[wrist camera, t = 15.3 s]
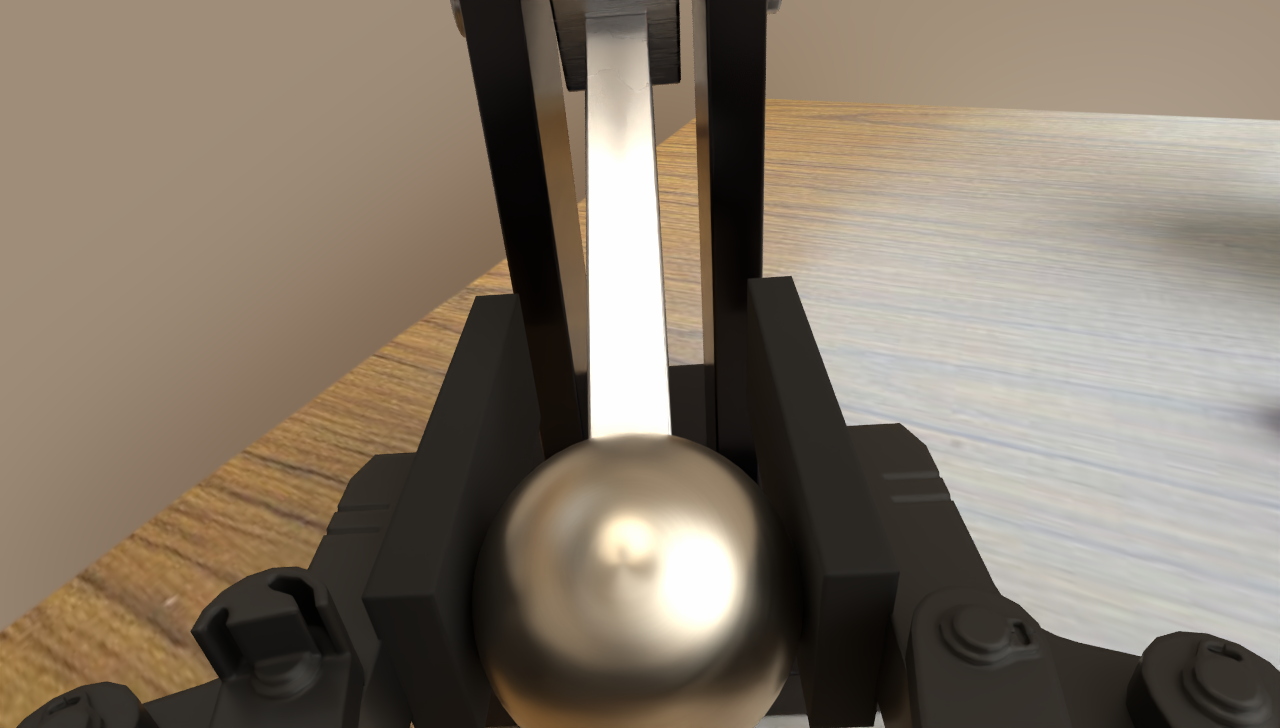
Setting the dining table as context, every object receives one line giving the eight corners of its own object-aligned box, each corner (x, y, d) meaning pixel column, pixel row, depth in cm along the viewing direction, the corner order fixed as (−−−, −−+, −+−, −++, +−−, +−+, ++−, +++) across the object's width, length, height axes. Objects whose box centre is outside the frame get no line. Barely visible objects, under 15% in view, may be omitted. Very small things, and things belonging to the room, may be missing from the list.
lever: (800, 763, 10) (859, 783, 7) (506, 774, 10) (406, 799, 7) (715, 14, 16) (721, -185, 13) (532, 29, 17) (488, -164, 13)
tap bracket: (895, 711, 17) (1062, -171, 8) (443, 730, 17) (134, -88, 8) (798, 393, 27) (826, -149, 18) (517, 409, 27) (411, -113, 18)
